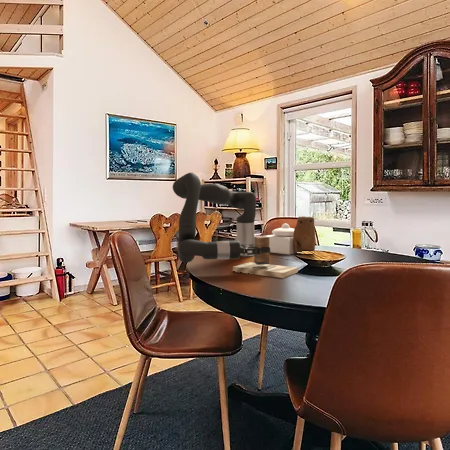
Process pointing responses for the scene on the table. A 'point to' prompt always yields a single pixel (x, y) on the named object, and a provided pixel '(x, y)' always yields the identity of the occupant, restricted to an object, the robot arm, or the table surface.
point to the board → (266, 269)
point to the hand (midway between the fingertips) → (267, 248)
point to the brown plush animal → (304, 235)
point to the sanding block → (263, 257)
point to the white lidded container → (282, 240)
